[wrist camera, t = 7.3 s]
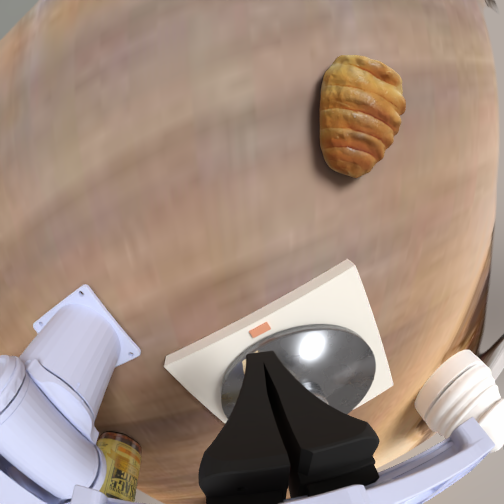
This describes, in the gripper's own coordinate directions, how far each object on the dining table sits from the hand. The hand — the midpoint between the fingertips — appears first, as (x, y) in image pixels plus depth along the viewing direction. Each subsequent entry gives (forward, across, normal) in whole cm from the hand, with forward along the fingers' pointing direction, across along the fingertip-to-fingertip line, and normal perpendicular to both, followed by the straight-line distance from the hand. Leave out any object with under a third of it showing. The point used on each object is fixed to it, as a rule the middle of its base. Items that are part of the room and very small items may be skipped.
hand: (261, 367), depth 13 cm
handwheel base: (+9, -4, +11) cm, 15 cm away
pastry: (+10, -10, -13) cm, 19 cm away
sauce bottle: (+10, +18, +22) cm, 30 cm away
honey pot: (+10, -30, +22) cm, 39 cm away
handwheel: (+7, -4, +11) cm, 14 cm away
